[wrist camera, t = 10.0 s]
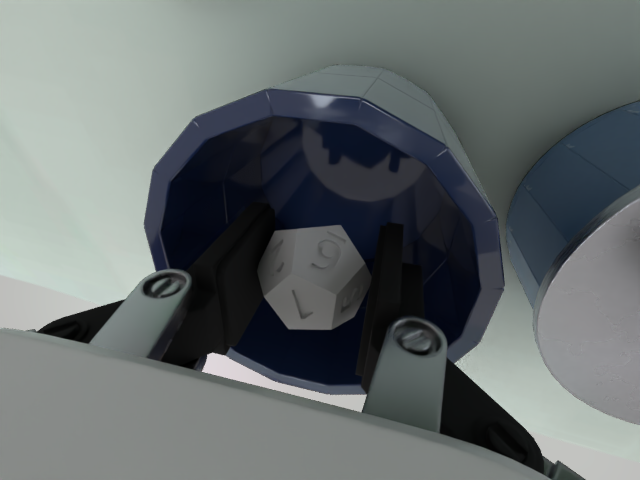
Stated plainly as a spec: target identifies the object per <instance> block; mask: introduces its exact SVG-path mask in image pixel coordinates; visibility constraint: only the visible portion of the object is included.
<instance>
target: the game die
mask: <svg viewBox="0 0 640 480" xmlns="http://www.w3.org/2000/svg"><path fill="white" fill-rule="evenodd" d="M257 273H258V277H259V281H260V284H261V288H262V292H263V295H264V298H265V299H266V300H267V301H268V303H269V304H270V305H271V307H272V308H273V309H274V311H275V312H276V313H277V315H278V316H279V317H280V319H281V320H282V321H283V323H284V324H285V325H286V326H287V328H288V329H307V330H332V329H334V328H335V327H337V326H339V325H341V324H342V323H344V322H346V321H348V320H350V319H351V318H353V317H354V316H355V314H356V312H357V311H358V309H359V307H360V305H361V303H362V301H363V299H364V297H365V295H366V293H367V291H368V289H369V287H370V283H371V278H372V276H371V274H370V272H369V270H368V268H367V266H366V264H365V262H364V260H363V259H362V257H361V256H360V254H359V252H358V251H357V249H356V248H355V246H354V245H353V243H352V242H351V240H350V238H349V237H348V235H347V234H346V232H345V231H344V229H343V228H342V226H341V225H333V226H322V227H310V228H299V229H289V230H279V231H274V233H273V236H272V238H271V240H270V242H269V244H268V246H267V248H266V250H265V252H264V254H263V256H262V258H261V260H260V262H259V265H258V269H257Z"/></svg>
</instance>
